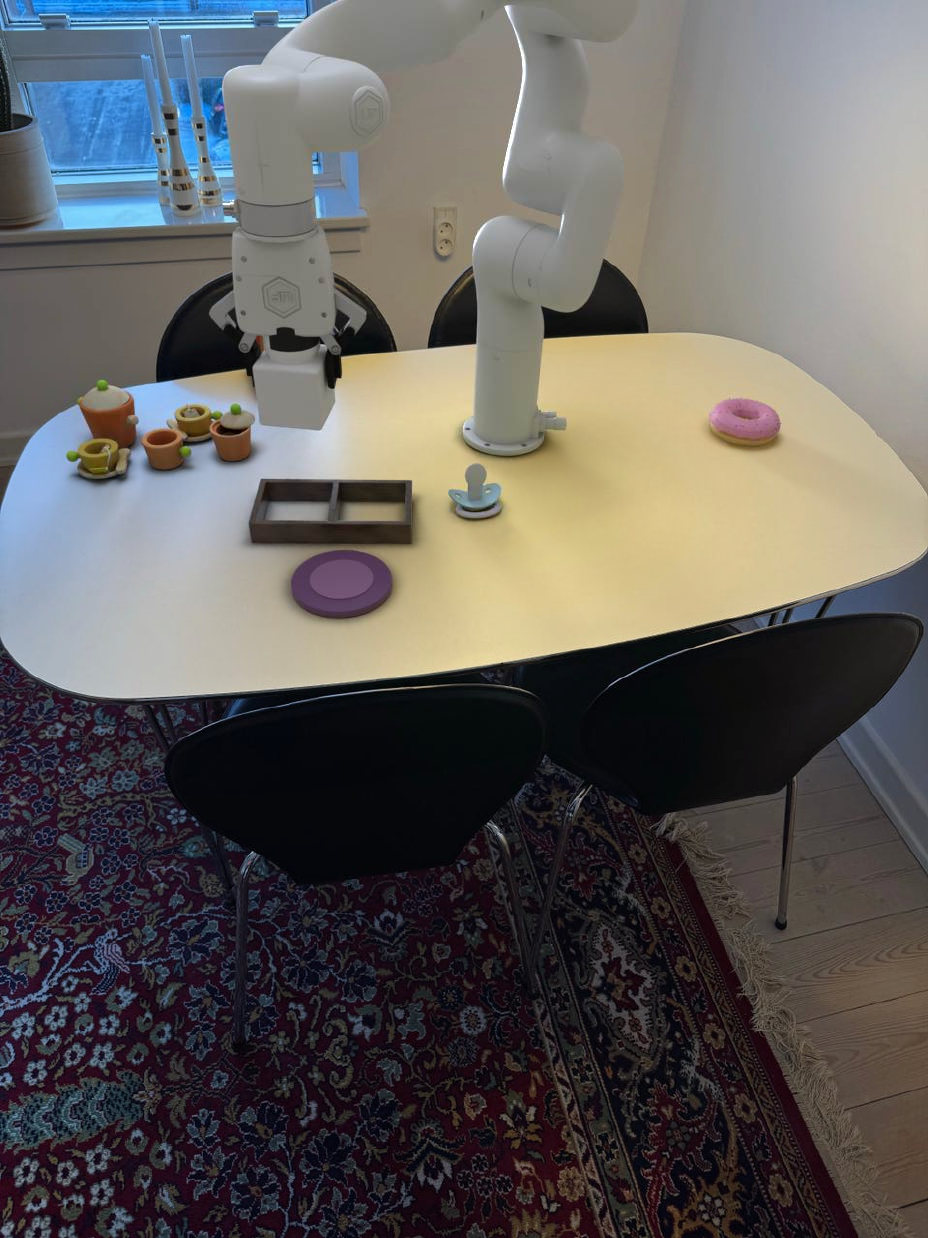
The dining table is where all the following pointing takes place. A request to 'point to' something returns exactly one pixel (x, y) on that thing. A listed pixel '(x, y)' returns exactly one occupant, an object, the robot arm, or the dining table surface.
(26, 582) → the dining table surface
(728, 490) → the dining table surface
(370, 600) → the lid
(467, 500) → the pacifier
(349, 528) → the frame
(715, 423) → the doughnut
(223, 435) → the toy tea set
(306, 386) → the medicine bottle
